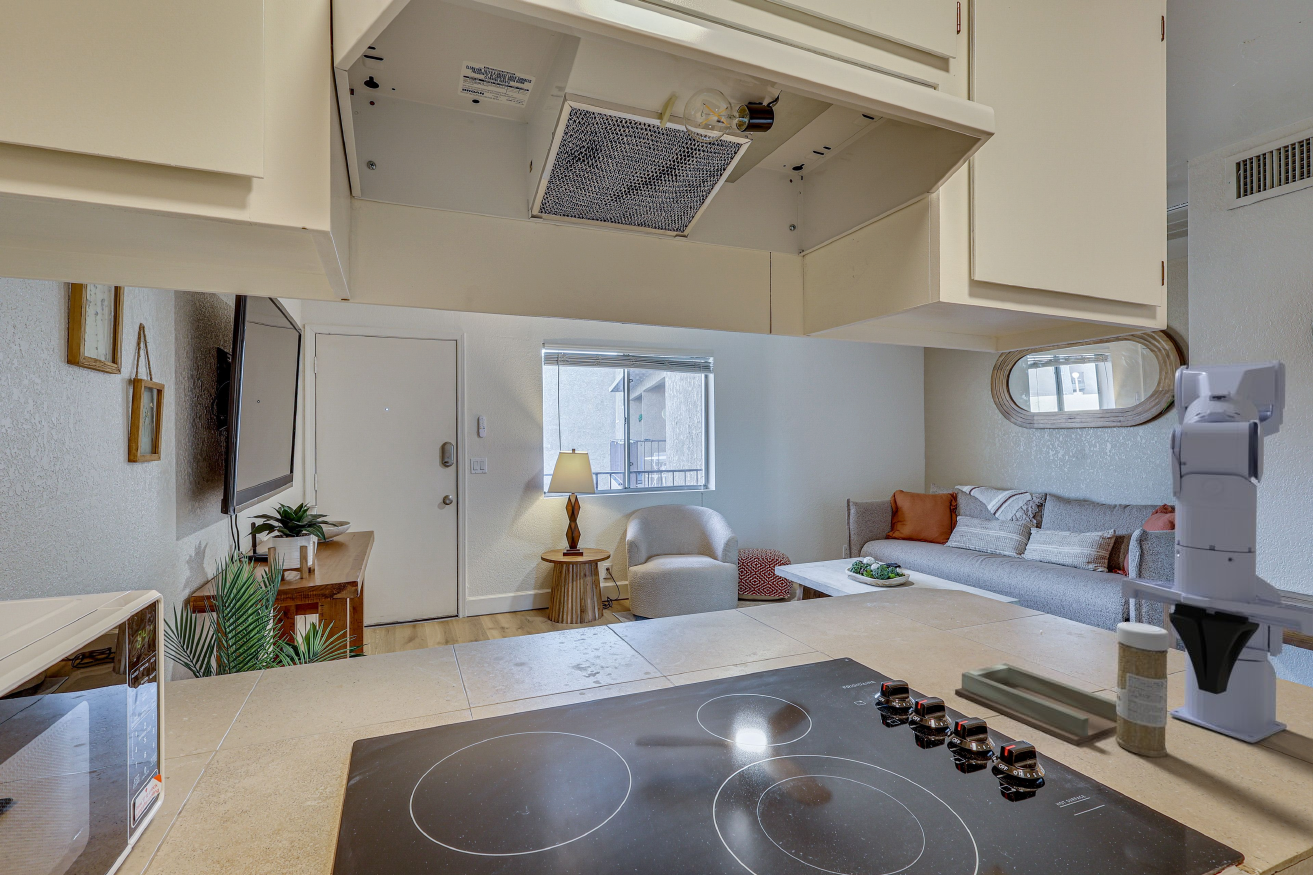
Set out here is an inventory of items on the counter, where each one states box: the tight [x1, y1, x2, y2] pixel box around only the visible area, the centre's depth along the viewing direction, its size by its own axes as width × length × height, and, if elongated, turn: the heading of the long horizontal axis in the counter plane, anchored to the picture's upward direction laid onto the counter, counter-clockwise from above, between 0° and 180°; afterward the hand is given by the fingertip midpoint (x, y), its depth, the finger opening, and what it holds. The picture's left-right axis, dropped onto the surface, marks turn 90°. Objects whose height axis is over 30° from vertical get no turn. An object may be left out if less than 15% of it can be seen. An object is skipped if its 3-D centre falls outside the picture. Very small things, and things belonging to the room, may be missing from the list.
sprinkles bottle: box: [1114, 621, 1170, 758], centre depth 67 cm, size 5×5×14 cm
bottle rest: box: [954, 663, 1117, 746], centre depth 77 cm, size 12×15×3 cm
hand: (1212, 690), depth 57 cm, fingers closed
